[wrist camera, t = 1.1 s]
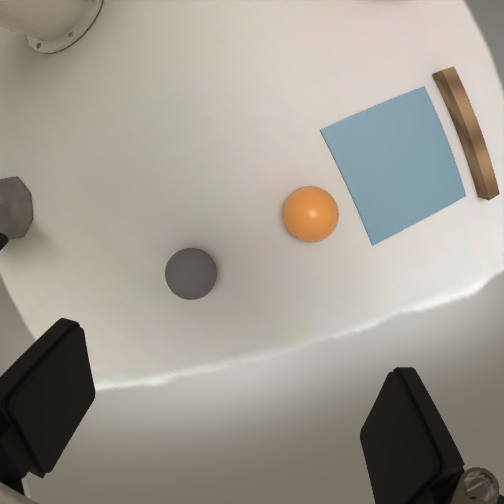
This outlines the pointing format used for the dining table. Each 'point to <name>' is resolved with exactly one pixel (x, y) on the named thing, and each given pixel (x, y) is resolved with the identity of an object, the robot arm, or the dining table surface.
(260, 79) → the dining table surface
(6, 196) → the coffeepot
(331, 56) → the dining table surface
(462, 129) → the stopper wall
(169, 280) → the gray sphere
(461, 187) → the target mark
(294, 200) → the object ball
